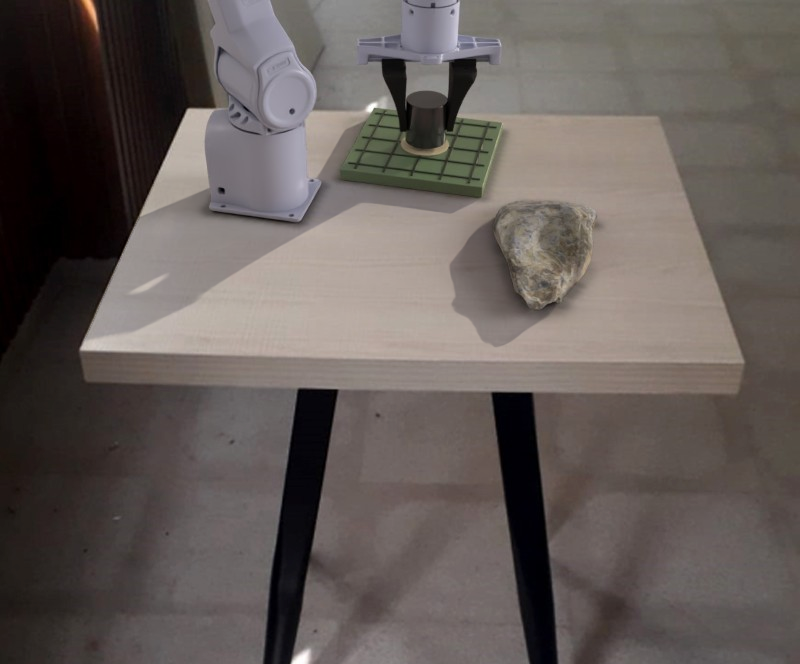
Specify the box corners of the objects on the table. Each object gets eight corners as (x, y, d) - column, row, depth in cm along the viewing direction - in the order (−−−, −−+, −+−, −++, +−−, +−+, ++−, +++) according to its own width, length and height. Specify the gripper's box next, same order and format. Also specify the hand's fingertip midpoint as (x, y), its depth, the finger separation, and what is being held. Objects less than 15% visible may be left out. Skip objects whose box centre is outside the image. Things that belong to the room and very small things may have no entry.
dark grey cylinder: (406, 149, 101) (407, 108, 98) (404, 130, 105) (405, 90, 102) (447, 149, 102) (449, 108, 99) (444, 130, 105) (446, 90, 102)
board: (340, 179, 100) (339, 167, 99) (373, 117, 111) (373, 106, 110) (481, 197, 98) (482, 186, 97) (502, 132, 109) (503, 121, 108)
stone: (490, 336, 84) (605, 337, 84) (491, 305, 82) (610, 307, 81) (493, 204, 98) (592, 204, 97) (493, 174, 95) (595, 174, 94)
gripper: (356, 12, 90) (358, 145, 99) (509, 13, 90) (497, 145, 100) (356, -14, 95) (357, 114, 104) (500, -14, 96) (489, 114, 105)
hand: (425, 127), depth 102 cm, fingers closed on dark grey cylinder, 4 cm apart
